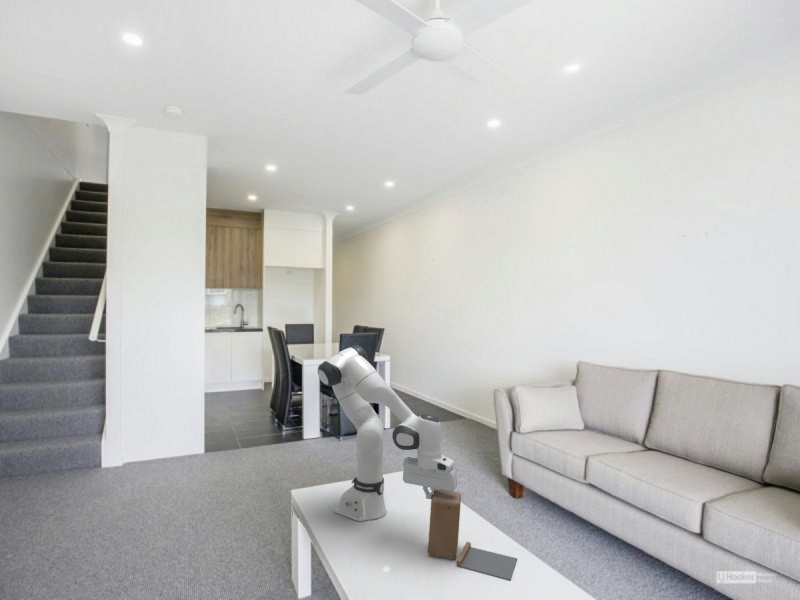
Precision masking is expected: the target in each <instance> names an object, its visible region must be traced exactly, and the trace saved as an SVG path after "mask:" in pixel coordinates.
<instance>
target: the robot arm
mask: <svg viewBox="0 0 800 600" xmlns="http://www.w3.org/2000/svg"><path fill="white" fill-rule="evenodd" d="M317 375H318V377H319V380H320V381H321V383H322V384H324V385H325V386H327V387H332V390H333V393H334V395H335V397H336V399H337V401H338V403H339V405H340V406H341V409H342V411H343V413H344V415H345V416H346V417H347V418H348V420H349V421H350V422H351V423H352V424H353V426H354V427H355V429H356V432H357V433H356V458H357V459H356V460H357V462H356V463H357V467H356V469H357V471H356V476H355V477H354V478H353V479H352V480H351V484H353V485H352V486H351V487H349V488H348V489H347V490H345V491H344V492H343V493H341V494H342V495H341V496H340V500H339V502H338V503H337V504H336V505H334V508H333V511H334V513H336V514H339V515H341V516H344V517H346V518H349V519H351V520H354V521H356V522H365V521H367V520H368V521H370V520H377V519H380V518H382V517H384V516H385V515H386V514H387V508H386V504H385V499H384V498H385V497H384V491H385V490H384V489H385V478H384V431H385V428H384V427H385V426H384V424H383V422H382V421H381V419H380V417H379V416H378V414H377V413H376V410H374V408H373V406H372V405H371V404H378V405H383V406H385V407H387V408H388V409H390V411H391V412H392V413H393V414H394V415H395V417H396V418H397V419H398V420H399V421H400V422H401V423H400V424H397V426H396V427H395V428H394V429H393V430H392V441H393V443H394V445H395V447H397V448H398V449H400V450H402V451H412V450H416V451H417V452H416V453H417V455H416V457H411V456H406V457H405V458H404V459H403V463H402V464H403V471H402V481H403V483H405V484H410V485H414V486H420V487H422V490H423V492H424V494H425V499H427V500H430V501H431V500H432V496H433V493H434V491H435V489H441V490H446V491H452V492H453V491H454V492H455V491H456V489H457V486H458V478H457V471H456V469H455V468H454V466H455V461H454V459H451V458H450V457H448V456H445V455H444V454H443V453H442V449H441V443H442V428H441V427H442V426H441V422H440V419H439V418H438V417H436V416H435V415H432V414H428V413H427V414H426V413H423V414H421V415H420V414H418V413H416V412H415V411H414V410H413V409H412V408H411V407H410V406H409V404H407V402H405V400H404V399H403V398H402V397H401V395H399V394H398V393H397V392H396V390H395V389H393V388H392V387H391V386H390V385H389V384H388V383H387V382H386V381H385V379H384V378H383V377H382V376H381V374H380V373H379V372H378V371H377V370H376V368H375V367H374V366H373V365H372V364H371V363H370V362H369V361H368V354H367V352H366V351H365V349H364V348H363V347H362V346H360V345H358V344H354V345H351V346H348V347H347V348H345V349H343V350H340V351H338V352H337V353H335V354H334V355H332V356H331V357H330V358H328V359H327V360H325V361H323V362H322V363H321V364H319V365H318V367H317ZM370 403H371V404H370ZM429 488H430V489H429ZM429 490H430V491H429Z"/></svg>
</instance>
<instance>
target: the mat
mask: <svg viewBox="0 0 800 600" xmlns="http://www.w3.org/2000/svg"><path fill="white" fill-rule="evenodd" d="M455 560H456V564H455V566H456V567H457V568H460V569H465V570H469V571H471V572H476V573H480V574H484V575H487V576H491V577H496V578H499V579H503V580H506V581H511V580H512V578H513V577H512V576H513V574H514V571H515V567H516V564H517V560H518V558H517V557H514V556H513V557H512V556H510V555H506V554H501V553H498V552H493V551H489V550H485V549H481V548H477V547H472V543H471V542H470V541H466V542H465V544H464V546H463V548H462V549H461V551H460V553H459V555H458V557H457V558H456V559H455Z"/></svg>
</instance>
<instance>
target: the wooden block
mask: <svg viewBox="0 0 800 600" xmlns="http://www.w3.org/2000/svg"><path fill="white" fill-rule="evenodd" d="M461 501H462V494H461V492H458V491H455V490H454V491H453V492H452V491H446V490H441V489H435V491H434V493H433V496H432V500H431V499H430V513H429V516H430V517H429V527H428V528H429V529H428V530H429V531H428V541H427V542H428V544H427V554H428V555H429V556H432V557H435V558H436V557H437V558H442V559H448V560H456V559H457V553H458V546H459V536H460V535H459V533H460V519H461V516H460V515H461V506H462V505H461Z"/></svg>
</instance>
